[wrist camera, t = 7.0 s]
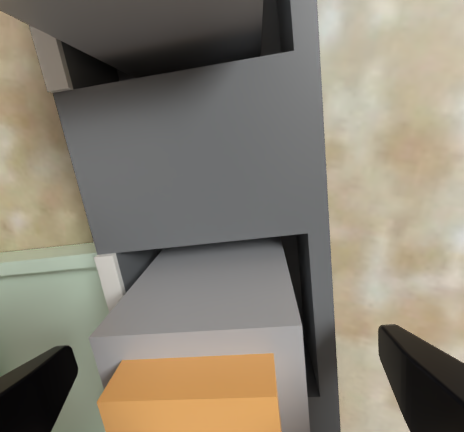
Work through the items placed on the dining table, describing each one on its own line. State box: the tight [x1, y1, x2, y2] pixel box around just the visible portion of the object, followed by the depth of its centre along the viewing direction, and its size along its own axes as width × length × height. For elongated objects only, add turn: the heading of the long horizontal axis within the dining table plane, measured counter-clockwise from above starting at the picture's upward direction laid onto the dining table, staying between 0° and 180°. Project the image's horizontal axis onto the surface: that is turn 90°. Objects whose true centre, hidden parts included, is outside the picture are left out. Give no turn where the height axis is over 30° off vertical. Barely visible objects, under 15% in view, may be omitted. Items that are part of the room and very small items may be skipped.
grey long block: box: [29, 0, 340, 432], centre depth 10 cm, size 22×7×4 cm, turn 8°
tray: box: [0, 243, 109, 432], centre depth 14 cm, size 12×9×2 cm
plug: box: [89, 236, 310, 432], centre depth 9 cm, size 4×4×7 cm
